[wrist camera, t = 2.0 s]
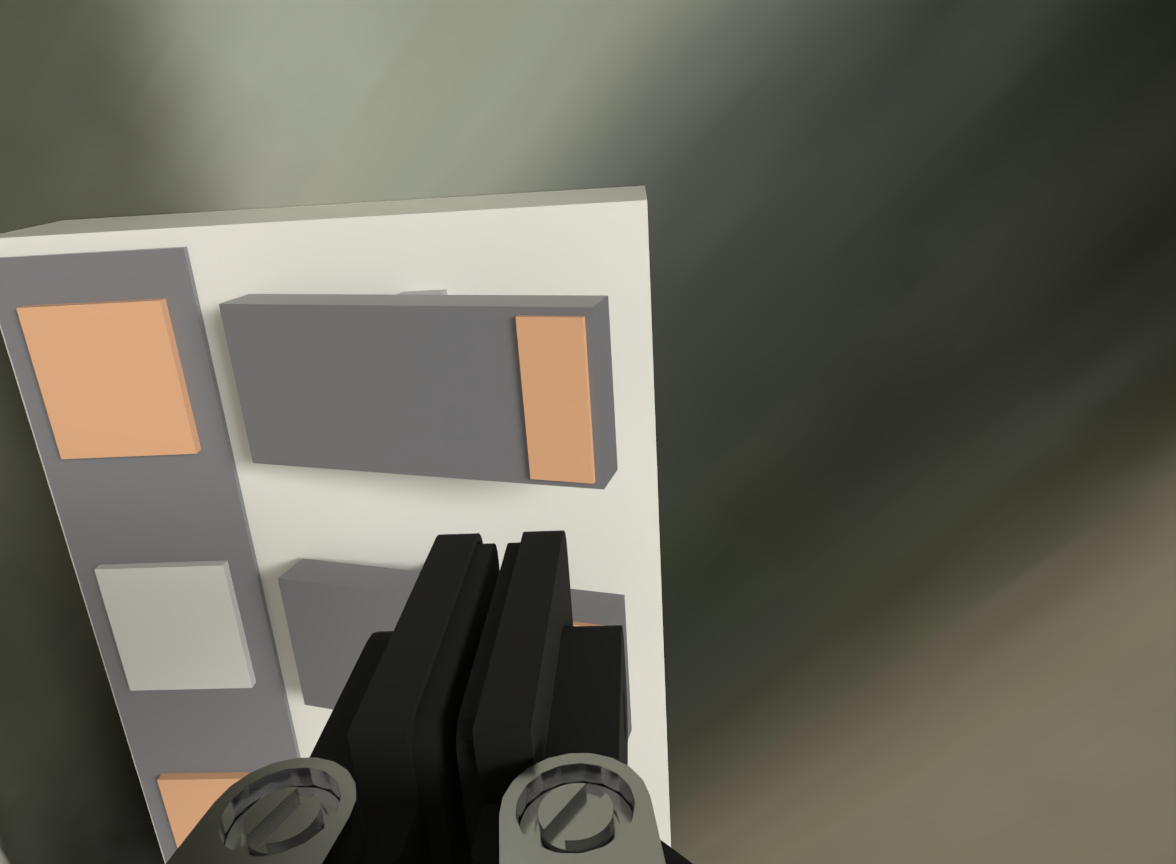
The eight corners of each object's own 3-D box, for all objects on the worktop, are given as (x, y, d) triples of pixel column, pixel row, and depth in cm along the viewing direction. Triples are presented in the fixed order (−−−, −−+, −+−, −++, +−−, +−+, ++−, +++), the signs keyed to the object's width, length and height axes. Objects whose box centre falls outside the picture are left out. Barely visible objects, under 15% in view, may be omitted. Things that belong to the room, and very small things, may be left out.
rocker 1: (248, 294, 23) (214, 305, 22) (608, 295, 20) (590, 308, 19) (279, 446, 25) (249, 464, 24) (618, 469, 22) (601, 492, 21)
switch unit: (63, 220, 27) (-55, 245, 22) (644, 185, 26) (647, 204, 21) (225, 820, 36) (163, 929, 31) (668, 814, 34) (674, 927, 30)
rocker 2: (302, 558, 26) (274, 581, 25) (624, 594, 23) (610, 622, 22) (326, 680, 28) (302, 707, 26) (631, 730, 25) (618, 762, 23)
